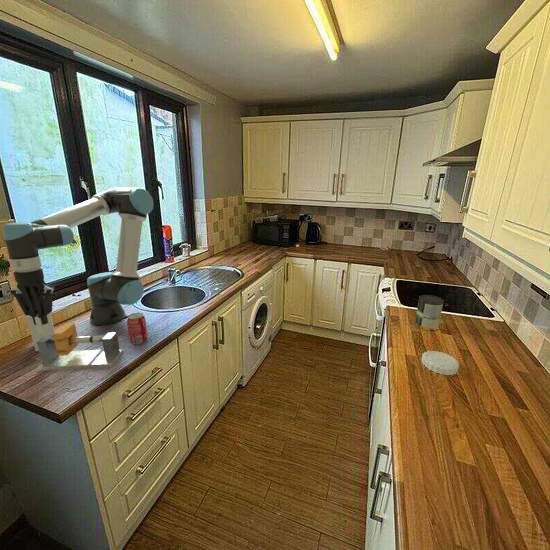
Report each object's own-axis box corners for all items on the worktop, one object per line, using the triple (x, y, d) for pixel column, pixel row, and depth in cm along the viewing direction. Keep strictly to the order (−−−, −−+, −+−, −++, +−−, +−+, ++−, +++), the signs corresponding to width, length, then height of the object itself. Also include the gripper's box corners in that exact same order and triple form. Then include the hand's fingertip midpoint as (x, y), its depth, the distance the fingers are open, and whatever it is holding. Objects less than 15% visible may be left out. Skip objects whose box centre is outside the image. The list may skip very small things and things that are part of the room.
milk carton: (35, 344, 118) (23, 302, 112) (56, 339, 122) (46, 298, 117) (35, 351, 113) (23, 308, 107) (57, 345, 117) (47, 303, 112)
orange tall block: (58, 355, 102) (52, 333, 99) (71, 344, 109) (66, 323, 106) (67, 355, 102) (61, 333, 99) (79, 343, 109) (74, 323, 107)
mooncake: (454, 361, 109) (456, 353, 108) (460, 380, 99) (462, 371, 98) (419, 354, 113) (421, 346, 112) (422, 372, 103) (423, 363, 102)
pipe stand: (38, 370, 101) (31, 345, 98) (56, 355, 111) (50, 331, 108) (111, 367, 104) (107, 342, 101) (123, 351, 113) (119, 328, 110)
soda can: (143, 335, 126) (139, 310, 122) (151, 340, 122) (148, 315, 118) (127, 341, 121) (122, 316, 117) (135, 347, 116) (130, 321, 113)
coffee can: (410, 324, 138) (414, 297, 134) (421, 319, 144) (426, 293, 140) (431, 333, 130) (436, 304, 126) (442, 327, 136) (448, 299, 131)
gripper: (-3, 272, 91) (16, 338, 98) (40, 272, 93) (56, 336, 99) (15, 266, 98) (31, 328, 105) (55, 266, 100) (69, 326, 107)
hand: (43, 332), depth 102 cm, fingers closed
